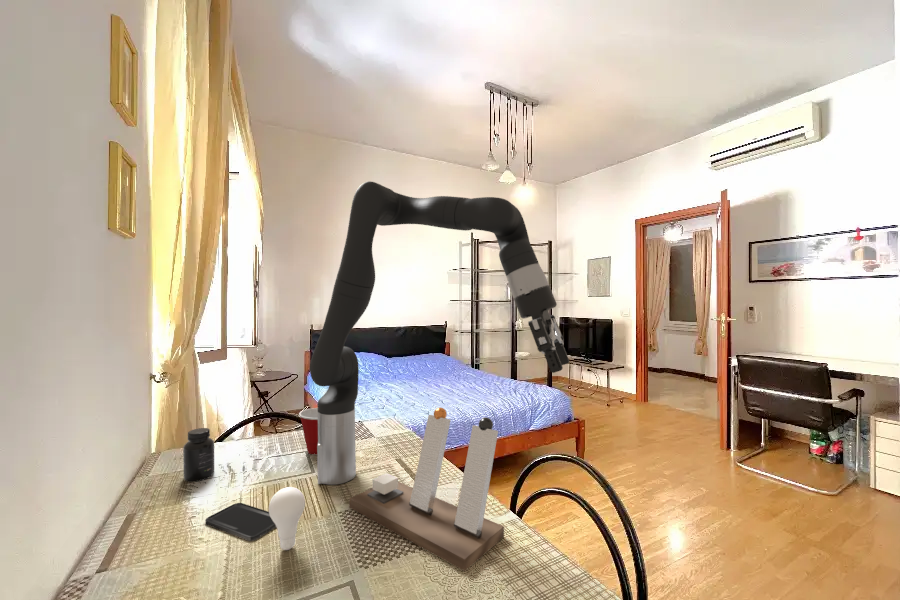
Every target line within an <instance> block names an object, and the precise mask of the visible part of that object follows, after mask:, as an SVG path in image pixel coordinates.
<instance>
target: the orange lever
mask: <svg viewBox="0 0 900 600" xmlns="http://www.w3.org/2000/svg"><path fill="white" fill-rule="evenodd" d="M450 425H451V419H450V418H447V411H446V409H445V408H443V407H437V408H435V410H434V411H433V415H432V414H428V417H427V421H426V425H425V430H424V434H423V440H422V443H421V449H420V454H419V459H418V461H417V462H418V463H417V467H416V473H415V477H414V482H413V487H412V488H413V490H412V495H411V499H410V502H409V506H411V507H413V508H415V509H417V510H420V511H422V512H424V513H426V514H428V515H432V513H433V506H434V501H435V497H436V495H437V490H438V485H439V480H440V474H441V470H442V465H443V459H444V455H445V450H446V445H447V439H448V435H449V429H450Z"/></svg>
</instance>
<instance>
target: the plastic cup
mask: <svg viewBox="0 0 900 600" xmlns="http://www.w3.org/2000/svg"><path fill="white" fill-rule="evenodd" d="M298 416H299V418H300V421H301V425H302V431H303V436H304V442H305V445H306V451H307V453H308V455H317V445H318V407H315V408H314V407H313V408H307V409H303V410H301V411H300V412H299V413H298Z"/></svg>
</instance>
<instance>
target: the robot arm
mask: <svg viewBox="0 0 900 600" xmlns="http://www.w3.org/2000/svg"><path fill="white" fill-rule="evenodd" d="M397 225H422V226H423V225H424V226H428V227H429V226H430V227H435V228H441V229H449V230H456V231H472V230H475V231H477V230H478V231H484V232H488V233H492V234H494V236H495V239H496V241H497V243H498V246H499V249H500V250H499V254H498V257H499V260H500V263H501V266H502V269H503V273H504V274H505V276H506V279H507V283H508V287H509V291H510V293H511V295H512V297H513V300H514V304H515V305H516V308H517V311H518V314H519V316H520V318H521V319H528V318H531V320H530V321H528V322H527V323H528V325H527V326H528V327H529V329H530V332H531V334H532V337H533V339H534V343H535V345H536V349H537V351H538V352H539V353H541V354H542V355H544V358H545V360H546V363H547V365H548V368H549V371H550V372H551V373H552V374H554V373H558V372H561V371H562V370H563V368H564V367H563V366H565V365H568V364H569V363H570V358H569V356H568V354H567V351H566V348H565V347H564V341H565V339H564V336H563V333H562V332H561V329H560V327H559V324H558V323H557V320H556V316H555V315H554V314H551V315H550V313H549V310H552V309H554V308H556V307H557V302H556V299H555V297H554V294H553V291H552V289H551V286H550V284H549V281H548V278H547V276H546V274H545V272H544V270H543V269H542V267H541V265H540V263H539V260H538V258H537V255H536V253H535V251H534V249H533V245H531V241H530V238H529V234H528V229H527V226H526V223H525V220H524V218H523V215H522V213H521V211H520V209H519V208H518V207H516V206H515V205H514V204H513V203H511V202H510V201H509V200H508V199H505V198H502V197H495V196H494V197H493V196H483V197H473V198H470V197H460V196H451V195H450V196H449V195H440V196H439V195H438V196H437V195H436V196H432V197H430V196H429V197H413V196H407V195H405V194H402V193H398V192H395V191H394V190H393V189H391V188H388V187H386V186H383V185H382V184H380V183H378V182H375V181H371V180H370V181H365V182H363V183H362V184H360V185H359V186H358V188H357V189H356V191H355V193H354V196H353V198H352V202H351V207H350V215H349V220H348V226H347V233H346V238H345V244H344V247H343V252H342V256H341V261H340V264H339V268H338V271H337V275H336V278H335V280H334V281H335V282H334V285H333V289H332V294H331V297H330V298H331V299H330V302H329V306H328V308H327V309H328V310H327V312H326V315H325V319H324V323H323V326H322V329H321V332H320V335H319V336H318V340H317V343H316V345H315V347H314V350H313V353H312V356H311V359H310V363H309V364H310V365H309V373H310V377H311V380H312V382H314V384H316V385H317V386H319V387H328V388H327V389H326V392H325V393H324V394H323V395H322V396H321V397H320V398H319V399H318V401H317V407H316V408H318V445H317V454H316V455H317V462H316V463H317V484H318V485H321V484H323V485H330V486H331V485H332V486H333V485H340V484H344V483H347V482H349V481H352V480H353V479H354V478H355V477H356V476H357V475H356V474H357V465H356V464H357V461H356V459H357V458H356V457H357V455H356V409H355V408H356V401H357V398H358V395H359V359H358V357H357V353H355V351H354V350H353V349H352V348H351V347H349V346H345V343H346V341H347V338H348V336H349V334H350V333H351V331H352V330H353V328H354V327H355V325H356V324H357V323H358V321H359V320H360V319H361V318H362V316H363V315H364V313H365V311H366V310H367V308H368V307H369V304H370V301H371V298H372V294H373V292H374V291H373V290H374V287H375V284H376V268H375V262H374V257H373V256H374V255H373V242H374V237H375V233H376V230H377V226H383V227H385V226H397Z"/></svg>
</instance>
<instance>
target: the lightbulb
mask: <svg viewBox="0 0 900 600" xmlns="http://www.w3.org/2000/svg"><path fill="white" fill-rule="evenodd" d="M305 507H306V499H305V495H304V494H303V492H302V491H301V490H300V489H299V488H297V487H293V486H286V487H283V488H281V489H278V491H277V492H276V493H275V492H274V495H273V496H272V497H271V499H270V502H269V504H268V512H269V514H270V517H271V519H272V520H273V522H274V523H275V525H276V529H277V536H278V538H279V548H280V549H281V550H284V551H289V550H291V549H292V548H293V547H294V546H295V545H296V537H297V535H296V534H297V533H298V532H297V530H298V525H299V521H300V519H301V517H302V514H303V512H304V511H305Z"/></svg>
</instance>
